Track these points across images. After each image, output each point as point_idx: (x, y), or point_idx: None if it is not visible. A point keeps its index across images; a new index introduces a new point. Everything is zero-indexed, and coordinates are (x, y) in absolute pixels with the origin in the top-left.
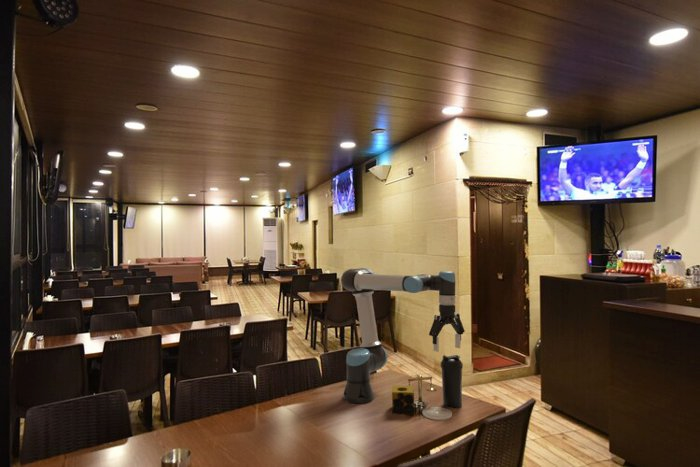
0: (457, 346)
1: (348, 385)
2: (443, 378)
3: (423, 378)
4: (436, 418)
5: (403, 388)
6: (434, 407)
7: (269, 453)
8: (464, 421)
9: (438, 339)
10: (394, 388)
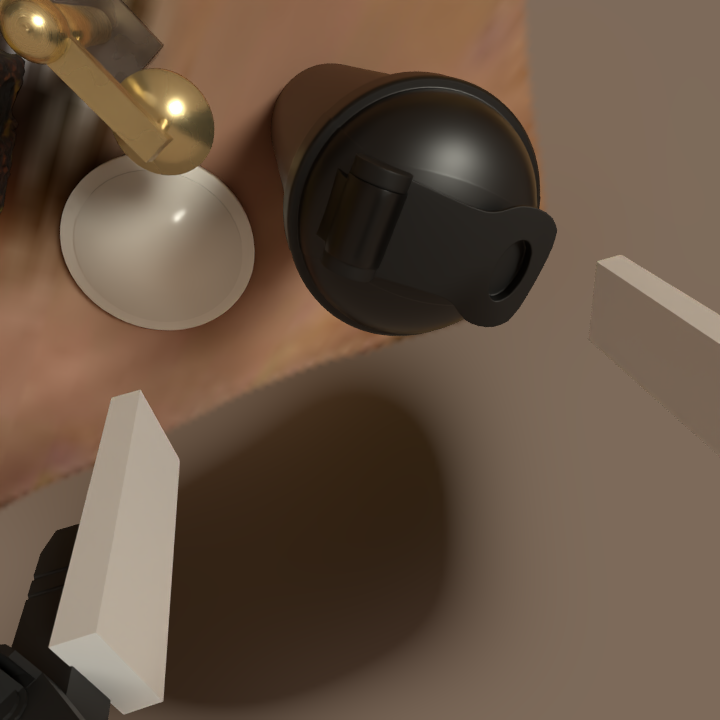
0: (605, 318)
1: None
2: (283, 185)
3: (73, 88)
4: (128, 321)
5: None
6: (170, 183)
7: None
8: (270, 361)
9: (159, 653)
10: None
